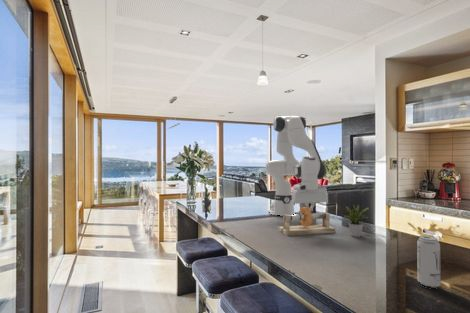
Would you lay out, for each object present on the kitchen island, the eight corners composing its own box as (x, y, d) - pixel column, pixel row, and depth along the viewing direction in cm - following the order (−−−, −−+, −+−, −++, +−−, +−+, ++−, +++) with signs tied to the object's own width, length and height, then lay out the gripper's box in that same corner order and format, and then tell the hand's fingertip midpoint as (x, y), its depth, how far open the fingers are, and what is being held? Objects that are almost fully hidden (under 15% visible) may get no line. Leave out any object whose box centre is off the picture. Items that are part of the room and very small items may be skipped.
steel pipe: (283, 220, 155) (283, 214, 155) (325, 217, 161) (325, 212, 161) (285, 221, 152) (285, 215, 152) (329, 219, 158) (329, 213, 158)
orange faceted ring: (299, 224, 161) (299, 206, 161) (303, 223, 161) (302, 206, 162) (307, 228, 151) (307, 209, 151) (311, 227, 152) (311, 209, 152)
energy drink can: (436, 291, 86) (435, 241, 86) (414, 284, 90) (413, 237, 91) (443, 286, 89) (443, 238, 89) (422, 279, 94) (421, 234, 94)
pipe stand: (278, 230, 159) (278, 213, 159) (323, 227, 166) (323, 210, 166) (287, 235, 147) (287, 217, 147) (335, 232, 154) (335, 214, 154)
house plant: (375, 240, 139) (375, 207, 139) (345, 238, 141) (345, 206, 141) (368, 233, 153) (368, 202, 153) (341, 231, 155) (340, 201, 155)
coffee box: (314, 222, 178) (314, 196, 178) (316, 224, 172) (316, 198, 172) (299, 222, 179) (299, 196, 179) (301, 224, 173) (300, 198, 173)
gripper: (323, 184, 163) (323, 209, 163) (290, 185, 158) (290, 210, 158) (329, 186, 157) (329, 211, 157) (295, 186, 152) (295, 212, 151)
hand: (309, 210), depth 157 cm, fingers closed
